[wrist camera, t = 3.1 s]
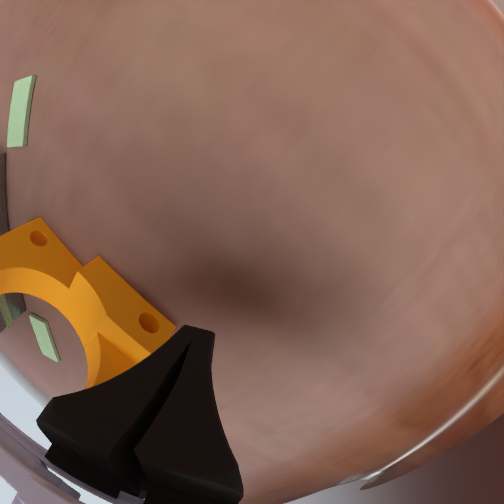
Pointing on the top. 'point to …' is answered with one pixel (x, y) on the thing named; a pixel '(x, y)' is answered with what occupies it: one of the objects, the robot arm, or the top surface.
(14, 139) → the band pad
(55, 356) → the plate
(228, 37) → the top surface
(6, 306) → the curved gray arc panel
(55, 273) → the pipe clamp
